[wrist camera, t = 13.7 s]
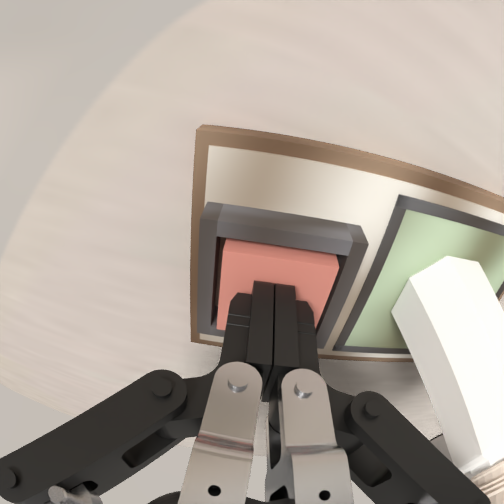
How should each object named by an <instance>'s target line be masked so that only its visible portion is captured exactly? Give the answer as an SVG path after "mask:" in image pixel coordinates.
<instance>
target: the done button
mask: <svg viewBox="0 0 504 504" xmlns="http://www.w3.org/2000/svg"><path fill="white" fill-rule="evenodd" d="M338 270H339V264H338V260H337V256H336V254H333V253H326V252H320V251H313V250H307V249H300V248H293V247H287V246H280V245H273V244H267V243H260V242H253V241H246V240H240V239H233V238H226V241H225V245H224V249H223V257H222V268H221V279H220V291H219V304H218V316H217V329H220V330H225V328H226V322H227V317H228V311H229V305H230V301H231V300H232V299H233V297H234V296H235V295H236V294H237V292H239V293H246V294H251V293H252V288H253V282H254V280H256V281H263V282H270V283H274V284H275V283H278V284H285V285H293V286H295V293H296V300H300V301H307V302H308V304H309V306H310V307H311V309H312V311H313V312H314V321H315V325H314V326H315V329H316V326H317V324H318V322H319V319H320V317H321V314H322V312H323V309H324V307H325V304H326V302H327V299H328V296H329V294H330V291H331V289H332V286H333V283H334V281H335V278H336V275H337V273H338Z"/></svg>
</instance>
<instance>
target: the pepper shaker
mask: <svg viewBox="0 0 504 504" xmlns="http://www.w3.org/2000/svg"><path fill="white" fill-rule="evenodd" d="M391 313H392V315H393V317H394V319H395V321H396V323H397V325H398V327H399V329H400V331H401V333H402V336H403V338H404V340H405V342H406V344H407V346H408V349H409V351H410V353H411V355H412V358H413V360H414V362H415V364H416V367H417V369H418V371H419V374H420V376H421V378H422V381H423V383H424V386H425V388H426V391H427V393H428V396H429V398H430V401H431V403H432V406H433V408H434V411H435V414H436V416H437V419H438V422H439V424H440V427H441V430H442V433H443V436H444V438H445V441H446V444H447V447H448V450H449V453H450V456H451V458H452V461H453V464H454V465H455V466H456V467H457V468H458V469H459V470H460V471H461V472H462V473H463V474H467V473H471V475H472V478H471V479H470V480H471V481H472V482H473V483H474V484H475V485H476V486H477V487H478V488H479V489H480V490H481V491H482V492H483V493H484V494H486V495H487V496H488V498H489V499H490V502H491V504H504V312H503V309H502V307H501V305H500V303H499V301H498V299H497V297H496V295H495V293H494V291H493V289H492V287H491V285H490V283H489V281H488V279H487V277H486V275H485V273H484V271H483V269H482V268H481V266H480V264H479V262H476V261H471V260H467V259H462V258H457V257H452V256H445V257H443V258H441V259H440V260H438V261H436V262H435V263H433V264H431V265H429V266H428V267H426V268H424V269H422V270H421V271H419V272H417V273H415V274H414V275H412V276H410V277H409V279H408V281H407V282H406V284H405V286H404V288H403V290H402V292H401V294H400V296H399V298H398V300H397V301H396V303H395V305H394V307H393V309H392V311H391Z"/></svg>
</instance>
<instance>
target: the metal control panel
mask: <svg viewBox="0 0 504 504" xmlns="http://www.w3.org/2000/svg"><path fill="white" fill-rule="evenodd" d="M226 238H233V239H240V240H246V241H253V242H260V243H267V244H273V245H280V246H287V247H293V248H300V249H307V250H313V251H320V252H326V253H333V254H336V256H337V260H338V264H339V270H338V273H337V275H336V278H335V281H334V283H333V286H332V289H331V291H330V294H329V296H328V299H327V302H326V304H325V307H324V309H323V312H322V314H321V317H320V319H319V322H318V324H317V326H316V329H315V331H316V334H315V336H316V341H317V352H318V358H323V359H338V360H356V361H383V362H414V360H413V358H412V355H411V353H410V351H409V349H408V346H407V344H406V342H405V340H404V338H403V336H402V333H401V331H400V329H399V327H398V325H397V323H396V321H395V319H394V317H393V315H392V313H391V311H392V309H393V307H394V305H395V303H396V301H397V300H398V298H399V296H400V294H401V292H402V290H403V288H404V286H405V284H406V282H407V281H408V279H409V277H410V276H412V275H414V274H415V273H417V272H419V271H421V270H422V269H424V268H426V267H428V266H429V265H431V264H433V263H435V262H436V261H438V260H440V259H441V258H443V257H445V256H452V257H457V258H462V259H467V260H471V261H476V262H479V264H480V266H481V268H482V269H483V271H484V273H485V275H486V277H487V279H488V281H489V283H490V285H491V287H492V289H493V291H494V293H495V295H496V297H497V299H498V301H499V300H500V299H501V297H502V296H503V294H504V197H501V196H499V195H496V194H494V193H492V192H489V191H487V190H484V189H482V188H479V187H476V186H474V185H471V184H468V183H466V182H463V181H460V180H458V179H455V178H452V177H449V176H446V175H443V174H440V173H437V172H434V171H431V170H428V169H425V168H422V167H418V166H415V165H412V164H409V163H405V162H402V161H398V160H395V159H391V158H387V157H384V156H380V155H376V154H372V153H368V152H364V151H360V150H356V149H352V148H348V147H343V146H339V145H334V144H329V143H325V142H320V141H315V140H310V139H304V138H299V137H293V136H287V135H281V134H275V133H269V132H262V131H255V130H248V129H240V128H232V127H223V126H213V125H202V126H200V127H199V128H198V129H197V130H196V140H195V155H194V172H193V191H192V217H191V259H190V315H191V342H195V343H201V344H207V345H213V346H219V347H222V346H223V340H224V334H225V330H220V329H217V316H218V304H219V291H220V279H221V268H222V257H223V249H224V245H225V241H226Z"/></svg>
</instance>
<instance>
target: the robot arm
mask: <svg viewBox="0 0 504 504" xmlns="http://www.w3.org/2000/svg"><path fill="white" fill-rule="evenodd" d="M314 325H315V321H314V312H313V311H312V309H311V307H310V306H309V304H308V302H307V301H300V300H296V293H295V286H293V285H285V284H278V283H275V284H274V283H270V282H263V281H256V280H254V282H253V288H252V293H251V294H246V293H239V292H237V294H236V295H235V296H234V297H233V299H232V300H231V301H230V305H229V311H228V317H227V322H226V328H225V334H224V340H223V346H222V352H221V358H220V362H219V364H218V366H217V367H216V368H215V369H214V370H213V371H212V372H210V373H209V374H207V375H204V376H201V377H195V378H187V379H182V378H181V377H180V376H179V375H178V374H176V373H174V372H172V371H169V370H155V371H152V372H150V373H148V374H146V375H144V376H143V377H141V378H140V379H138V380H136V381H135V382H133V383H132V384H130V385H128V386H127V387H125V388H124V389H122V390H120V391H119V392H117V393H115V394H114V395H112V396H110V397H109V398H107V399H105V400H104V401H102V402H100V403H99V404H97V405H95V406H94V407H92V408H90V409H89V410H87V411H85V412H84V413H82V414H80V415H79V416H77V417H75V418H74V419H72V420H70V421H68V422H66V423H65V424H63V425H61V426H59V427H58V428H56V429H54V430H53V431H51V432H49V433H47V434H45V435H43V436H42V437H40V438H38V439H36V440H34V441H33V442H31V443H29V444H27V445H25V446H23V447H21V448H20V449H18V450H16V451H14V452H12V453H10V454H8V455H7V456H4V457H3V458H1V459H0V496H1V497H2V498H4V499H5V500H7V501H9V502H12V503H14V504H103V503H102V501H101V499H100V497H99V496H100V495H102V494H103V493H105V492H107V491H108V490H110V489H111V488H113V487H115V486H116V485H118V484H119V483H121V482H123V481H124V480H126V479H127V478H129V477H131V476H132V475H134V474H135V473H137V472H138V471H140V470H141V469H143V468H144V467H146V466H147V465H149V464H150V463H151V462H153V461H154V460H155V459H157V458H159V457H160V456H161V455H163V454H164V453H166V452H167V451H169V450H170V449H171V448H173V447H174V446H175V445H177V444H178V443H180V442H181V441H182V440H184V439H185V438H187V437H195V436H197V437H196V439H195V442H194V445H193V448H192V452H191V456H190V460H189V463H188V467H187V471H186V474H185V478H184V482H183V486H182V489H181V491H178V492H173V493H169V494H166V495H163V496H161V497H158V498H157V499H155V500H153V501H151V502H150V503H148V504H354V500H353V493H352V486H351V480H352V481H353V482H354V483H355V484H356V485H357V486H358V487H359V488H360V489H361V490H362V491H363V492H364V493H365V494H366V495H367V496H368V497H369V498H370V499H371V500H372V501H373V502H374V503H375V504H491V502H490V499H489V498H488V496H487V495H486V494H484V493H483V492H482V491H481V490H480V489H479V488H478V487H477V486H476V485H475V484H474V483H473V482H472V481H471V480H470V479H471V478H472V475H471V473H467V474H463V473H462V472H461V471H460V470H459V469H458V468H457V467H456V466H455V465H454V464H453V461H452V458H451V456H450V453H449V450H448V447H447V444H446V441H445V438H444V436H443V435H441V436H439V437H437V438H435V439H433V440H432V441H429V440H428V439H427V438H426V437H425V436H424V435H423V434H422V433H421V432H420V431H418V430H417V429H416V428H415V427H414V426H413V425H412V424H411V423H410V422H409V421H408V420H407V419H406V418H405V417H404V416H403V415H402V414H401V413H400V412H399V411H398V410H397V409H396V408H395V407H394V406H393V405H392V404H391V403H390V402H389V401H388V400H387V399H386V398H384V397H383V396H382V395H380V394H378V393H376V392H371V391H366V392H362V393H360V394H358V395H357V396H356V397H354V396H351V395H348V394H345V393H342V392H339V391H336V390H334V389H333V388H331V387H330V386H328V385H327V384H326V383H325V381H324V380H323V378H322V377H321V375H320V371H319V363H318V352H317V341H316V336H315V334H316V331H315V326H314ZM261 396H262V401H263V402H269V413H268V416H267V418H266V447H267V475H266V479H265V502H261V501H258V500H255V499H251V498H248V497H246V494H247V489H248V483H249V477H250V472H251V465H252V459H253V441H254V435H255V429H256V422H257V416H258V409H259V403H260V399H261Z"/></svg>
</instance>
